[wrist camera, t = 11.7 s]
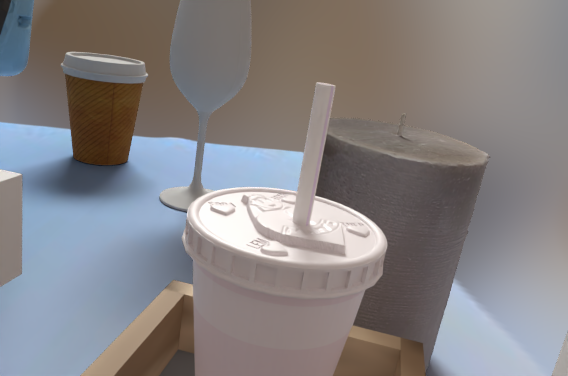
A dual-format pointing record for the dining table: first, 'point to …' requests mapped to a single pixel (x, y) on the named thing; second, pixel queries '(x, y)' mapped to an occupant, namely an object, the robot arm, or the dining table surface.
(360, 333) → the bay walls
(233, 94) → the wineglass
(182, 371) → the dock
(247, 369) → the smoothie
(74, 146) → the disposable coffee cup
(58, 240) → the dining table surface
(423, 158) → the pillar candle
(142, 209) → the dining table surface
